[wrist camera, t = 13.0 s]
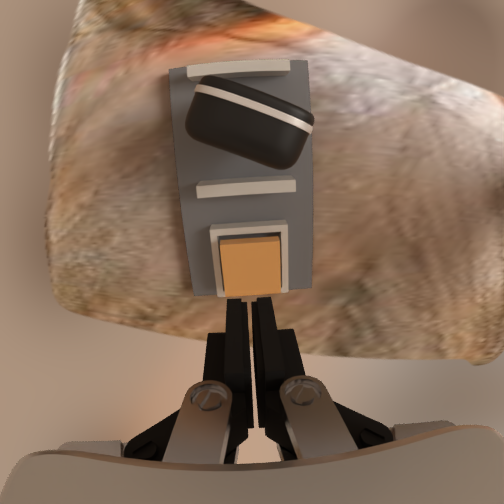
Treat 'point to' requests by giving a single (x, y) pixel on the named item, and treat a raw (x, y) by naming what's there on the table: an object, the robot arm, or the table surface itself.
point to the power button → (251, 266)
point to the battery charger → (248, 122)
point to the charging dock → (243, 180)
